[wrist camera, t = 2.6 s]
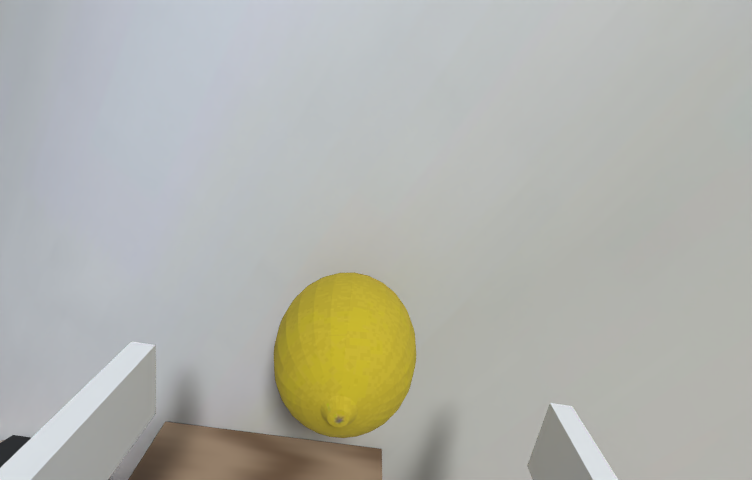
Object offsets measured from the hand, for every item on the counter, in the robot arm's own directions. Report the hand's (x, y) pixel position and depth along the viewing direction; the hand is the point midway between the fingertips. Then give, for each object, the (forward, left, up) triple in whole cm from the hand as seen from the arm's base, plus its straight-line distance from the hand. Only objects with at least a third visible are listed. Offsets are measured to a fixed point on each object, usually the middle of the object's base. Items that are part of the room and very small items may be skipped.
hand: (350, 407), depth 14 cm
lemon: (0, 0, -7) cm, 7 cm away
